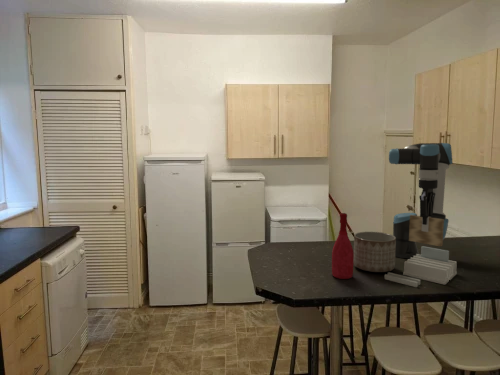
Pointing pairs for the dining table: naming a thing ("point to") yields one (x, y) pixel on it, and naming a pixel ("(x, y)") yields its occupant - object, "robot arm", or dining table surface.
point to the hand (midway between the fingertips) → (425, 230)
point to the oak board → (430, 237)
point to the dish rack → (431, 266)
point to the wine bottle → (342, 253)
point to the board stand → (402, 279)
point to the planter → (374, 251)
